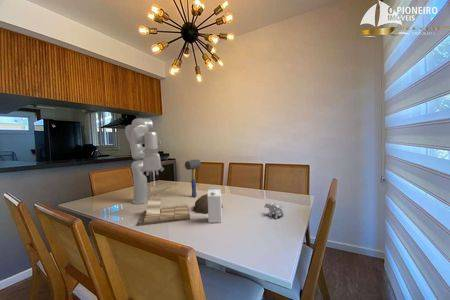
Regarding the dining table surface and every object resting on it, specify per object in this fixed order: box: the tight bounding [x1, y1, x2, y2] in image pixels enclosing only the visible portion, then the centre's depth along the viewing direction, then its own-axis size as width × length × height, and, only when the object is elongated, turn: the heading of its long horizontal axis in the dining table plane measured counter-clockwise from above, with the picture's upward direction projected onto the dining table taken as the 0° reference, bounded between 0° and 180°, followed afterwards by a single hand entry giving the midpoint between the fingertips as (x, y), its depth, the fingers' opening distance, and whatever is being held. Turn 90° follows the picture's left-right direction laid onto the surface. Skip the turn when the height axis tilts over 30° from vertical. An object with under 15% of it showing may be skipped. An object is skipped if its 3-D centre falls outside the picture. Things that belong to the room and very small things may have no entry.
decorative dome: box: [192, 193, 224, 215], centre depth 138 cm, size 19×20×10 cm
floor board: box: [137, 204, 191, 227], centre depth 127 cm, size 20×28×3 cm
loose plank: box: [146, 197, 162, 216], centre depth 127 cm, size 13×8×2 cm
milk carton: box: [207, 186, 223, 224], centre depth 118 cm, size 7×7×19 cm
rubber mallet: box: [184, 159, 202, 198], centre depth 166 cm, size 12×8×30 cm, turn 143°
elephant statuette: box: [264, 201, 285, 220], centre depth 122 cm, size 9×12×8 cm
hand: (153, 181), depth 129 cm, fingers open, 3 cm apart
